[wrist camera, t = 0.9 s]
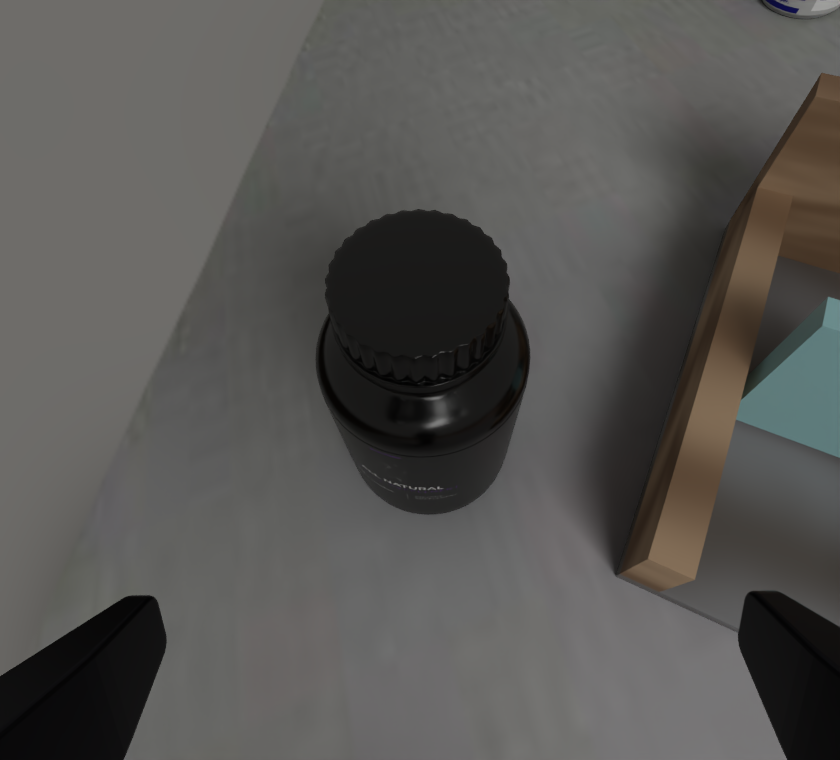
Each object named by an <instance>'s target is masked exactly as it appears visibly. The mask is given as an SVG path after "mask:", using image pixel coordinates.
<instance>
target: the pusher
mask: <svg viewBox="0 0 840 760" xmlns="http://www.w3.org/2000/svg"><path fill="white" fill-rule="evenodd" d="M736 420H739V421H741V422H744V423H747V424H749V425H752V426H755V427H758V428H760V429H763V430H766V431H768V432H771V433H774V434H776V435H779V436H782V437H785V438H787V439H790V440H793V441H795V442H798V443H801V444H804V445H806V446H809V447H812V448H814V449H817V450H820V451H823V452H825V453H828V454H831V455H833V456H836V457H839V458H840V300H837V299H834V298H831V297H827V298H826V299H825V300H824V301H823V302H822V303H821V304H820V305H819V306H818V307H817V308H816V309H815V310H814V311H813V312H812V313H811V314H810V315H809V316H808V317H807V318H806V319H805V320H804V321H803V322H802V323H801V324H800V325H799V326H798V327H797V328H796V329H795V330H794V331H793V332H792V333H791V334H790V335H789V336H788V337H787V338H786V339H785V340H784V341H783V342H782V343H781V344H780V345H778V346H777V347H776V348H775V349H774V350H773V351H772V352H771V353H770V354H769V355H768V356H767V357H766V358H765V359H764V360H763V361H762V362H761V363H760V364H759V365H758V366H757V367H756V368H755V369H754V370H753V371H752V372H751V373H750V374H749V375H748V376H747V378H746V382H745V386H744V390H743V394H742V398H741V402H740V406H739V409H738V413H737V417H736Z"/></svg>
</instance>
